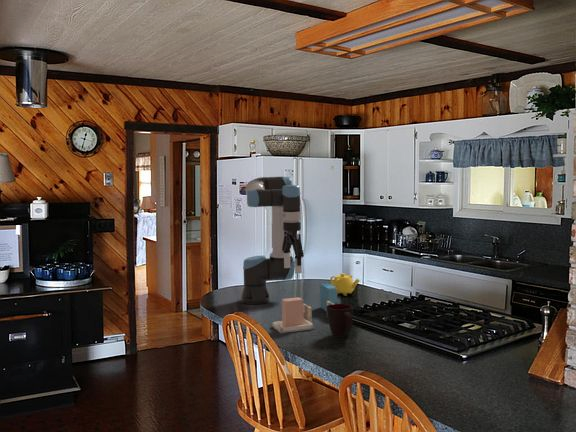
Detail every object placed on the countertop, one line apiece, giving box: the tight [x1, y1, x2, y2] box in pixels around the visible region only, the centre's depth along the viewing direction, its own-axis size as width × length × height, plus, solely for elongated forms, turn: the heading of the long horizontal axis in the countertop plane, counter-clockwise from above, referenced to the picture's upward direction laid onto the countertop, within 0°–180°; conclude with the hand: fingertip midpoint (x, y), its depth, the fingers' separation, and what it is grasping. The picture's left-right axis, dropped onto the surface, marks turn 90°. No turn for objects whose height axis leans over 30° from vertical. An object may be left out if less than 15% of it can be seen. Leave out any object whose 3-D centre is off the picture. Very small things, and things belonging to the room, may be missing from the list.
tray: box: [271, 318, 315, 334], centre depth 247 cm, size 11×15×2 cm
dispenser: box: [303, 301, 334, 324], centre depth 260 cm, size 8×13×7 cm, turn 110°
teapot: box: [329, 272, 360, 297], centre depth 312 cm, size 14×14×11 cm
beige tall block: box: [281, 296, 304, 327], centre depth 247 cm, size 5×8×12 cm, turn 110°
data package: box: [319, 283, 338, 313], centre depth 277 cm, size 12×4×12 cm, turn 16°
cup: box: [326, 303, 354, 338], centre depth 233 cm, size 10×14×12 cm
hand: (292, 270), depth 246 cm, fingers open, 13 cm apart
